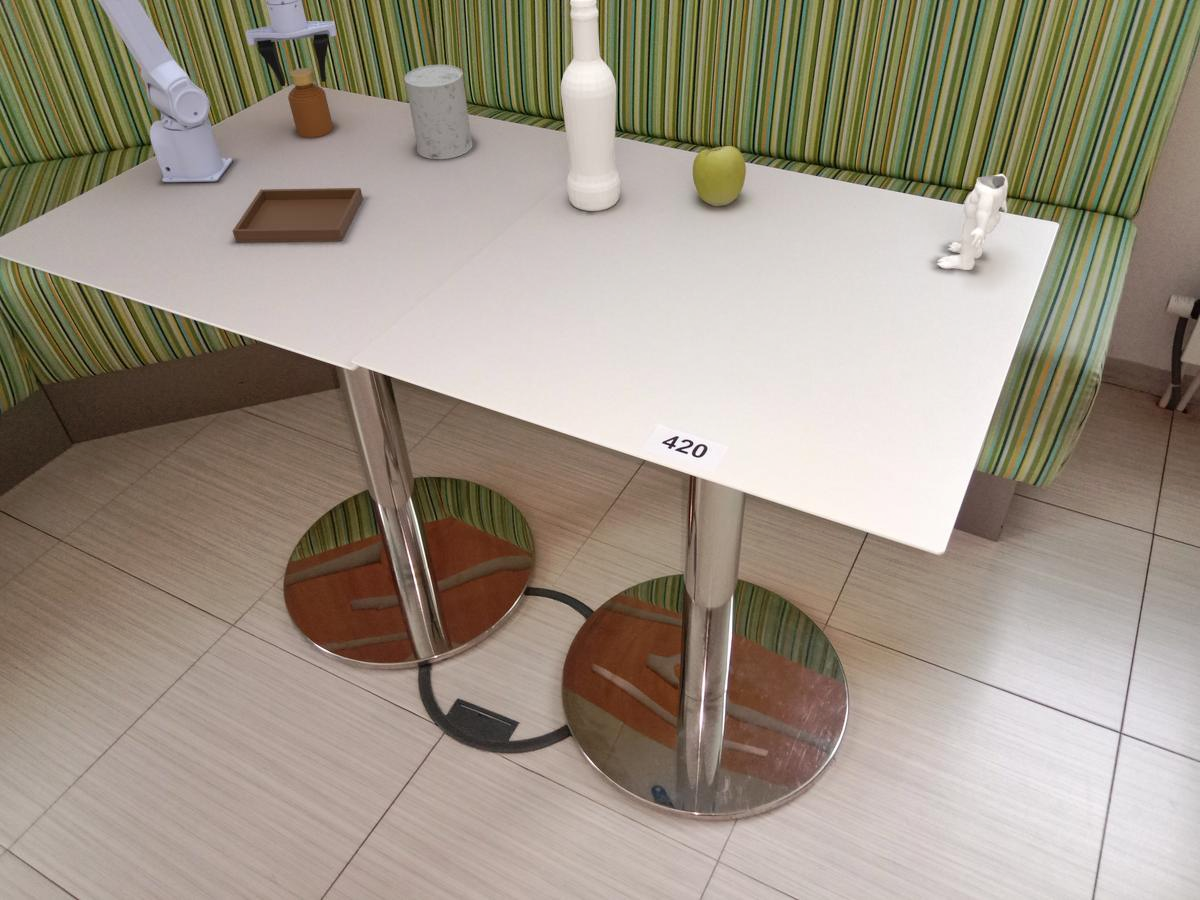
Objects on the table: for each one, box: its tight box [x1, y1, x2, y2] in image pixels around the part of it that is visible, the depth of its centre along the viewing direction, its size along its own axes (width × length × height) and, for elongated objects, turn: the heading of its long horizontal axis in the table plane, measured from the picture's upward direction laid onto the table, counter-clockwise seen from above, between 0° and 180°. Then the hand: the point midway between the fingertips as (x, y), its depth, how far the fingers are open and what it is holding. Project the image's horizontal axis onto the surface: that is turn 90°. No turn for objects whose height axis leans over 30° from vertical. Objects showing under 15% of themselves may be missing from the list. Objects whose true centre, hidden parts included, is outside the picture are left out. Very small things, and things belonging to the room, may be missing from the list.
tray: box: [232, 187, 364, 243], centre depth 148 cm, size 16×13×2 cm
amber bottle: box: [287, 82, 334, 139], centre depth 171 cm, size 6×6×10 cm
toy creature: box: [936, 173, 1009, 271], centre depth 128 cm, size 12×6×12 cm, turn 147°
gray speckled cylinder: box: [403, 64, 473, 160], centre depth 162 cm, size 10×10×12 cm
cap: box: [289, 67, 316, 86], centre depth 168 cm, size 4×4×2 cm
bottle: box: [560, 0, 621, 212], centre depth 140 cm, size 8×8×30 cm
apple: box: [692, 141, 747, 207], centre depth 145 cm, size 8×8×10 cm
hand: (303, 82), depth 168 cm, fingers open, 6 cm apart
